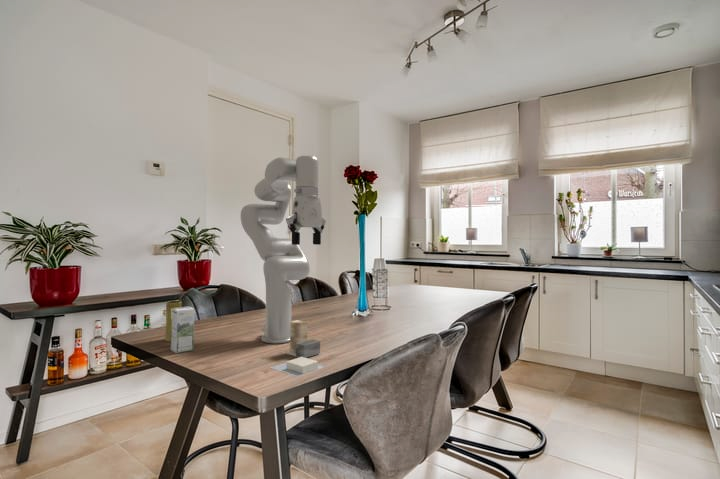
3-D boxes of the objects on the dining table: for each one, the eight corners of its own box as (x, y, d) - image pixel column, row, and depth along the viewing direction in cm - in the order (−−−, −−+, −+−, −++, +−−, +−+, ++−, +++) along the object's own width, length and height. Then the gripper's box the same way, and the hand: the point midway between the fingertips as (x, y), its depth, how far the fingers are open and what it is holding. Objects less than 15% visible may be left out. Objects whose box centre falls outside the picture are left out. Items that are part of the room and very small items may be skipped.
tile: (286, 361, 112) (303, 366, 108) (301, 356, 117) (318, 361, 113) (286, 368, 112) (303, 374, 108) (301, 363, 117) (318, 368, 113)
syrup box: (187, 347, 135) (187, 305, 135) (194, 350, 131) (194, 307, 131) (170, 350, 131) (170, 307, 131) (176, 354, 127) (176, 310, 127)
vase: (160, 340, 143) (161, 302, 143) (174, 336, 149) (174, 299, 148) (173, 342, 141) (173, 303, 141) (186, 338, 146) (186, 301, 146)
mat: (269, 368, 113) (269, 367, 113) (297, 359, 122) (297, 358, 122) (297, 378, 106) (297, 376, 106) (325, 367, 114) (325, 366, 114)
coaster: (286, 354, 127) (286, 352, 127) (299, 350, 132) (299, 348, 132) (300, 358, 123) (300, 356, 123) (314, 354, 128) (314, 352, 128)
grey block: (285, 352, 127) (285, 322, 127) (301, 348, 132) (301, 319, 132) (304, 358, 121) (304, 326, 121) (320, 353, 127) (320, 322, 127)
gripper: (295, 190, 120) (294, 244, 120) (332, 195, 134) (332, 244, 134) (279, 191, 125) (279, 244, 125) (317, 196, 138) (316, 244, 138)
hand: (306, 244), depth 129 cm, fingers open, 9 cm apart
